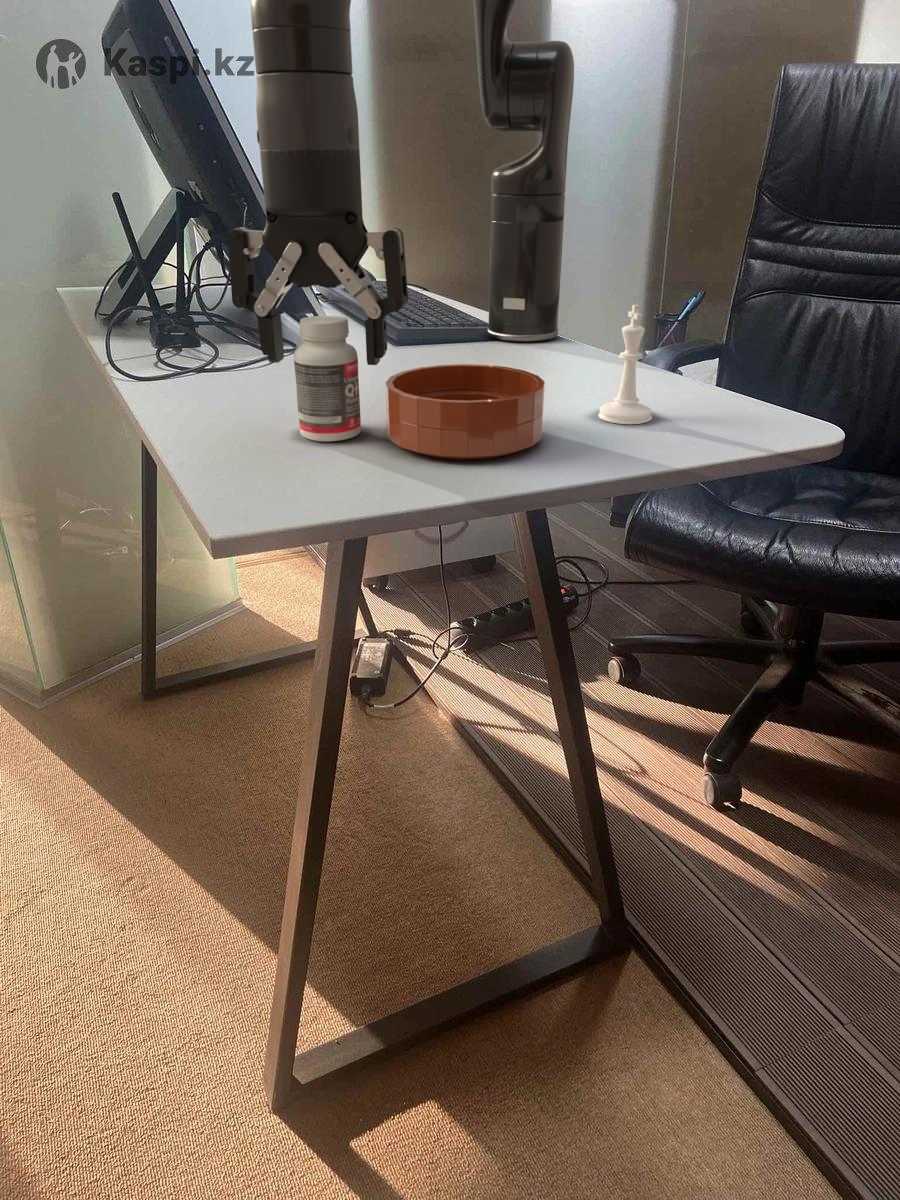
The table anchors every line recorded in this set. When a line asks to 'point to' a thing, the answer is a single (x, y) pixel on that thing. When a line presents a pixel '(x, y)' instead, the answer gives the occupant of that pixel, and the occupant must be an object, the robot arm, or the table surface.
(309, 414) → the pill bottle
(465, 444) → the bowl
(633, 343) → the chess piece
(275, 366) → the table surface
